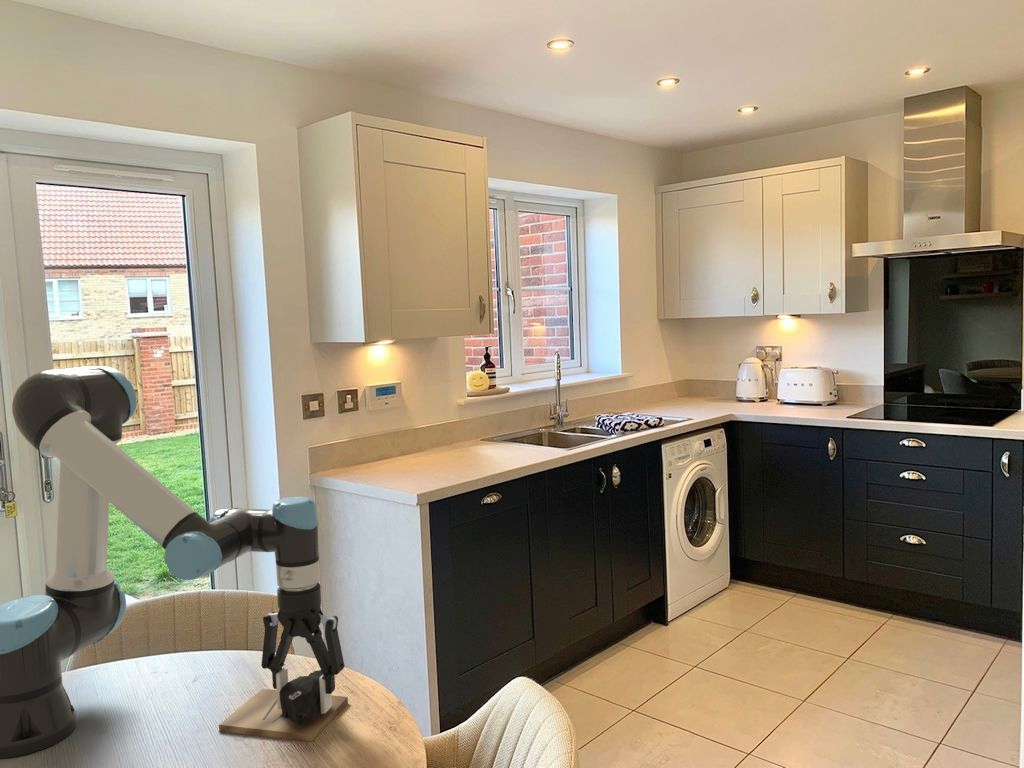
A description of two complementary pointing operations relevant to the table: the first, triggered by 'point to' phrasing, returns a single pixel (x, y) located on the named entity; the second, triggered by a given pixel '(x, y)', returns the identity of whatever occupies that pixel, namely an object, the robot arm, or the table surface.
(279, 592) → the robot arm
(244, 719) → the board
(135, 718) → the table surface
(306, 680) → the rock
